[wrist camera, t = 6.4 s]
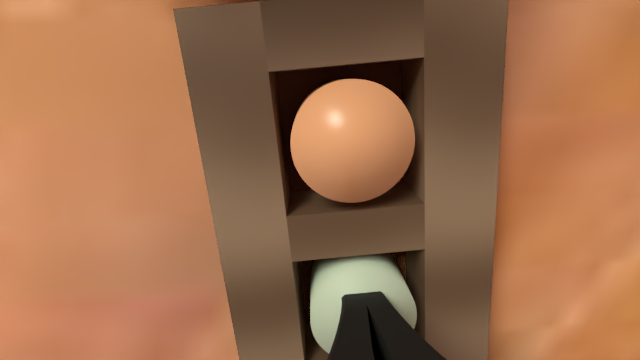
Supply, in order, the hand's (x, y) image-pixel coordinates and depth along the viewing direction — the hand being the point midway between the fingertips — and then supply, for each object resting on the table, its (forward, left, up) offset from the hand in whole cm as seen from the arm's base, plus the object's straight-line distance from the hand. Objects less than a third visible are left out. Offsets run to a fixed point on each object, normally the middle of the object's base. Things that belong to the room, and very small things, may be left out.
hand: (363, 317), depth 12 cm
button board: (0, 0, -3) cm, 3 cm away
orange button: (+6, +2, -2) cm, 6 cm away
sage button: (0, 0, -2) cm, 2 cm away
